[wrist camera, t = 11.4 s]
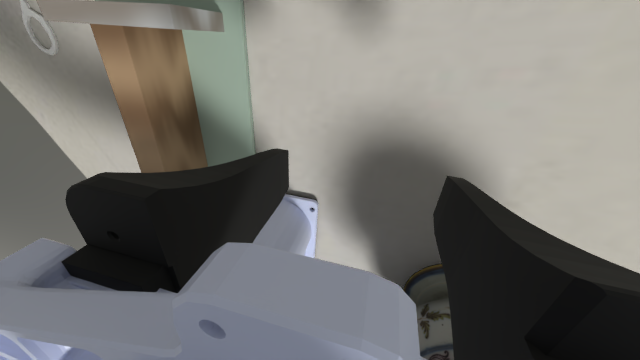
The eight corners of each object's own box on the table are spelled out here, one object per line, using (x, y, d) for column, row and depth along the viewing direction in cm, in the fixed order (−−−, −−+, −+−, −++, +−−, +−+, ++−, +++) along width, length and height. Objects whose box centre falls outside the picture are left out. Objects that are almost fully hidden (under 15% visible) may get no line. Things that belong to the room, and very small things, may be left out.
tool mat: (257, 178, 25) (255, 180, 25) (149, 158, 27) (146, 159, 27) (242, -6, 17) (239, -7, 17) (96, -11, 20) (91, -12, 20)
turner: (241, 172, 25) (209, 199, 20) (156, 156, 26) (111, 178, 22) (222, 12, 18) (169, 4, 14) (111, 7, 20) (35, -2, 16)
